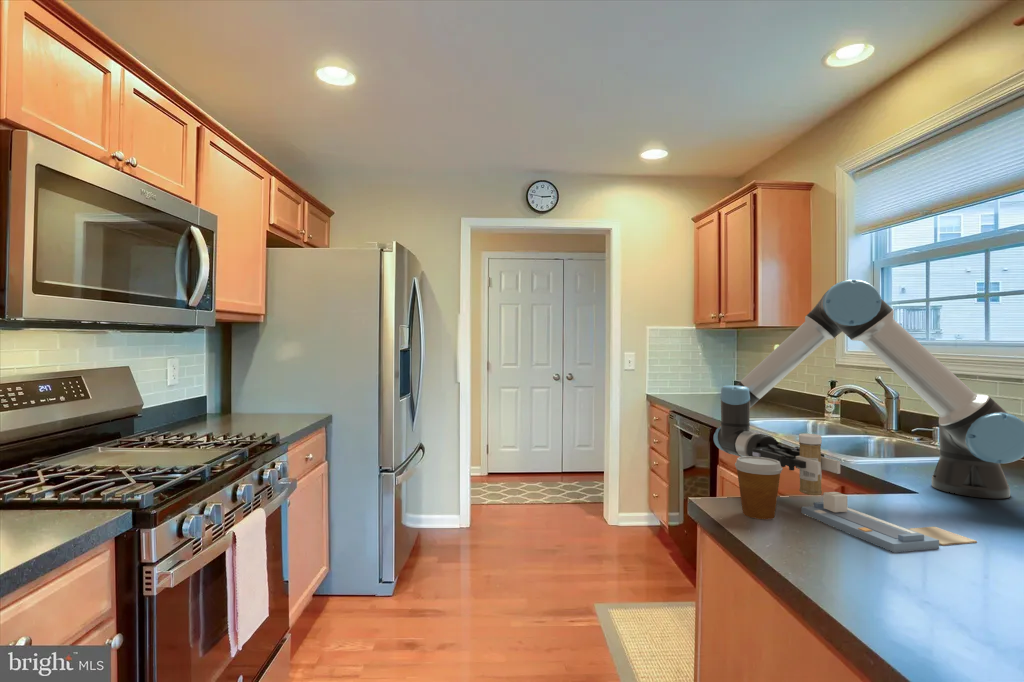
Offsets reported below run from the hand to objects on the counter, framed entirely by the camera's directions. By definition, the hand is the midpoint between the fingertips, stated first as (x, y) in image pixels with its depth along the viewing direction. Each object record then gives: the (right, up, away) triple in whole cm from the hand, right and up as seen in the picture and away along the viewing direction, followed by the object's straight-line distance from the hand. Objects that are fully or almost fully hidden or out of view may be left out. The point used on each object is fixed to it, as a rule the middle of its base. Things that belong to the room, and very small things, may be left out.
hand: (828, 467), depth 112 cm
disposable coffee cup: (-15, -11, 0) cm, 19 cm away
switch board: (+2, -10, -9) cm, 14 cm away
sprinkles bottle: (-1, -7, +5) cm, 9 cm away
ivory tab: (0, -9, -2) cm, 9 cm away
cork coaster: (+14, -10, -12) cm, 21 cm away
